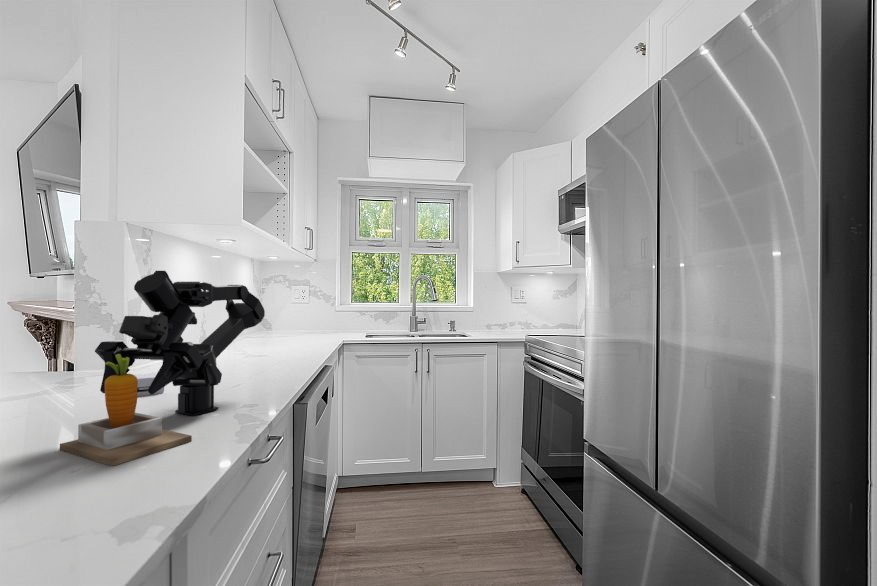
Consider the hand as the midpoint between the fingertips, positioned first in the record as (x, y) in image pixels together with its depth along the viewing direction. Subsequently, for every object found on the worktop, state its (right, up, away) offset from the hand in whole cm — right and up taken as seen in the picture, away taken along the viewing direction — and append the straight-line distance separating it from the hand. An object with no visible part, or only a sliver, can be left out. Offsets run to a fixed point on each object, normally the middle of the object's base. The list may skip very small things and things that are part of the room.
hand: (126, 392), depth 79 cm
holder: (+2, -9, -2) cm, 9 cm away
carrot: (0, -8, -1) cm, 8 cm away
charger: (-26, -10, +43) cm, 51 cm away
